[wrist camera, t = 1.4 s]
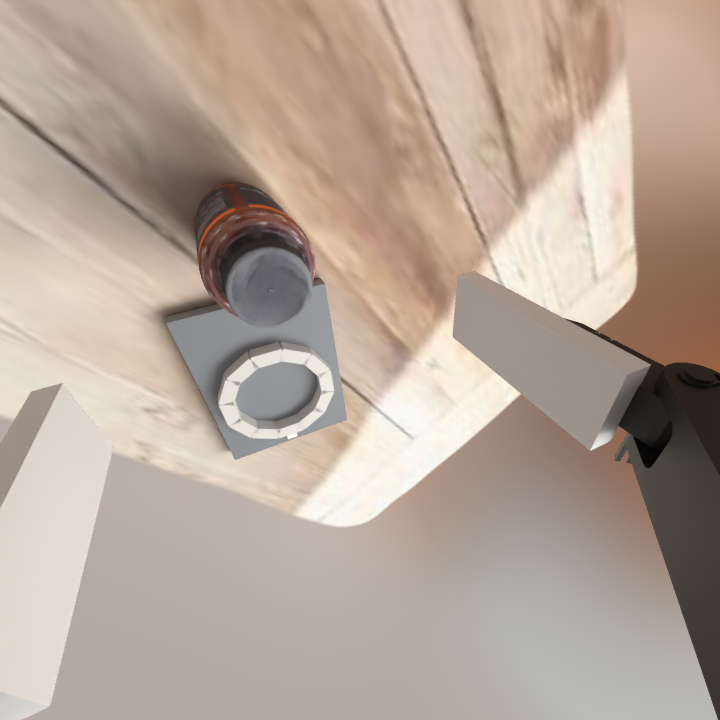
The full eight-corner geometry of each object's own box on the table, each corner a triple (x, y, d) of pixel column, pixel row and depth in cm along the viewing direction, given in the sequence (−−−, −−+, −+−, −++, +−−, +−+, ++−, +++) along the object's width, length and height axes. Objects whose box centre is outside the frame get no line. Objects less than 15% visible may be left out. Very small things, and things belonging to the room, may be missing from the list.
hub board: (166, 315, 25) (165, 331, 24) (320, 278, 28) (329, 289, 27) (233, 450, 35) (236, 469, 33) (343, 412, 38) (350, 427, 36)
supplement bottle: (191, 260, 24) (191, 341, 15) (198, 168, 21) (204, 204, 13) (275, 276, 27) (315, 351, 18) (291, 195, 24) (347, 239, 16)
